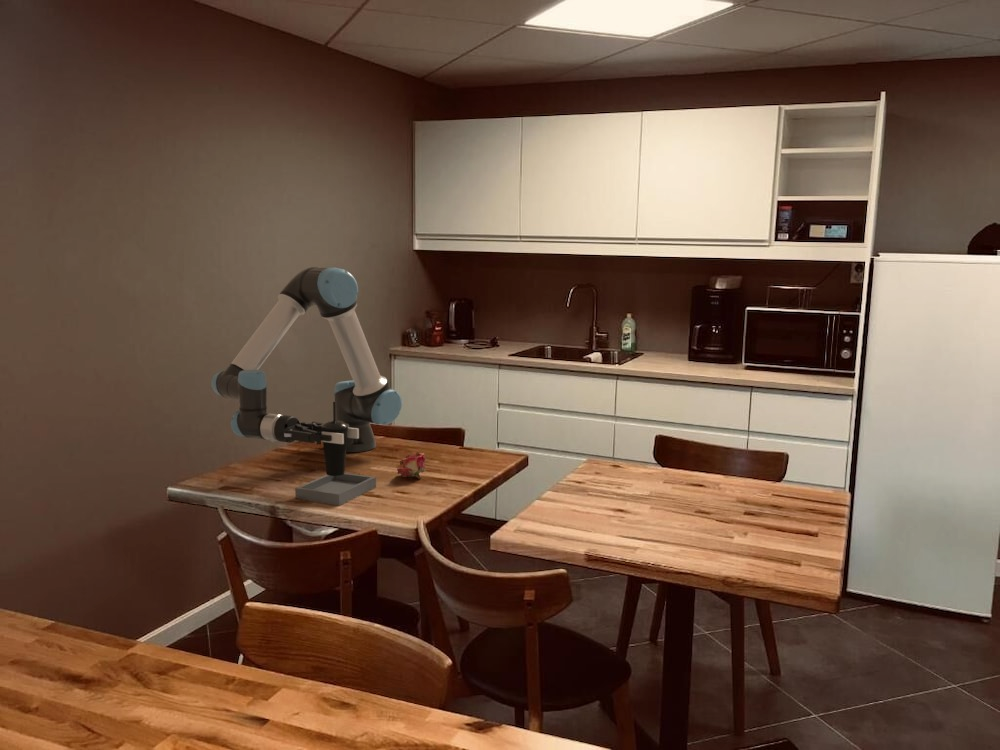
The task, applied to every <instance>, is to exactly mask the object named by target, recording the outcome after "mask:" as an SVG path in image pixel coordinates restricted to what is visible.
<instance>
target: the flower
mask: <svg viewBox="0 0 1000 750" xmlns="http://www.w3.org/2000/svg"><path fill="white" fill-rule="evenodd" d="M424 455H425V452H423V453H419V451H413V452H412V453H411V454H407V455H406V456H405V457H404V458H401V459H400V460H399V466H401V467H397V469H396V470H397V474H398V475H399V474H400V475H401V476H402V478H409V477H413V476H415V477H417V479H418V480H420V479H422V478H421V476H420V473H422V474H423V473H425V472H426V471H427V469H426V468H425V467H426V466H425V463H426V456H424Z"/></svg>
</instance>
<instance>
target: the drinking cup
mask: <svg viewBox="0 0 1000 750" xmlns="http://www.w3.org/2000/svg"><path fill="white" fill-rule="evenodd" d="M332 411H333V412H332V413H333V414H332V417H333V419H332V420H329V421H328V420H327V421H325V422H323V423H324V424H321V425H320V427H321V428H322V432H323V431H324V432H333V433H342V434H344V444H336V443H328V442H322V445H323V446H322V447H323V453H324V463H325V471H326V474H325V475H329V476H339V475H343V474H344V473H345V469H346V459H347V457H346V455H347V452H346V446H347V433H348V427H349V424H347V423H345V422H343V421H339V420H336V402H335V401H333V403H332Z"/></svg>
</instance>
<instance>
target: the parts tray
mask: <svg viewBox="0 0 1000 750" xmlns="http://www.w3.org/2000/svg"><path fill="white" fill-rule="evenodd" d="M376 477H377V476H371V475H363V474H355V473H347V472H344V474H343V475H339V476H329V475H327V474H325V475H323V476H320V477H318V478H316V479H314V480H312V481H311V480H310V481H309V482H307V483H303V484H302V485H299V486H297V487H295V488H294V491H295V499H296V498H298V499H297V500H300V499H303V500H302V501H306V500H309V501H308V502H313V501H316V502H315V503H319V502H320V504H326V503H327V504H328V505H331V506H333V505H334V506H341V505H344V504H345V503H347V502H350V501H351V500H353V499H356V498H357V496H358V497H359V496H362V495H364V494H366V493H368V492H369V490H370V491H372V490H374V489H376V488H377V478H376ZM375 487H376V488H375ZM373 488H374V489H373ZM371 489H372V490H371ZM367 491H368V492H367ZM365 492H366V493H365Z"/></svg>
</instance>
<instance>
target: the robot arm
mask: <svg viewBox="0 0 1000 750" xmlns="http://www.w3.org/2000/svg"><path fill="white" fill-rule="evenodd" d="M358 293H359V286H358V282H357V280H356V278H355V277H354V275H353V274H351V273H350V272H349V271H348V270H346V269H343V268H338V267H332V266H331V267H318V266H317V267H316V266H313V267H307V268H304V269H302V270H301V271H299V272H298V273H297V274H295V276H293V278H292V277H291V280H290V281H288V283H287V284H285V286H284V287H283V288H282V290H281V291H280V292H279V294H278V295H277V299H278V301H277V302H276V303H275V305H274V306H273V307H272V309H271V310H270V312H269V313H268V314H267V315H266V316H265V318H264V319H263V321H262V322H261V323H260V325H259V326H258V327H257V328H256V330H255V331H254V332H253V334H252V335H251V336H250V338H248V340H247V341H246V343H245V344H244V346H243V347H242V348H241V349H240V351H239V352H238V353H237V355H236V356H235V358H234V359H233V360H232V362H231V363H230V364H229V365H228V366H227V368H225V370H222V371H218V372H217V373H215V374H214V375H213V377H212V378H211V383H210V384H211V389H212V390H213V392H214V393H215V395H218V396H220V397H222V398H225V399H232V400H235V401H238V402H239V403H238V407H239V410H238V411H236V412H234V414H233V415H232V420H230V428H231V430H232V432H233V433H234V435H236V436H238V437H243V438H246V439H257V440H266V441H271V443H275V442H281V443H288V444H289V443H290V444H291V443H293V442H295V441H297V442H302V443H309V444H315V442H316V445H319V446H321V445H322V443H323V442H328V443H336V444H344V434H342V433H333V432H324V431H323V432H322V428H321V427H320V425H321V424H324V423H325V422H317V421H311V423H310V422H306V421H305V422H304V421H302V422H300V421H299V419H298V418H297V417H296V416H294V415H288V414H287V415H286V414H276V413H268V407H267V406H268V405H267V402H268V401H267V391H268V390H267V385H268V383H267V379H266V372H265V371H264V370H262V369H260V368H261V367H262V365H263V364H264V363H265V362H266V360H267V359H268V357H269V356H270V355H271V353H272V352H273V351H274V349H276V347H277V345H278V344H279V343H280V342H281V340H282V338H283V337H284V336H285V335H286V333H287V332H288V331H289V329H290V328H291V326H292V325H293V324H294V323H295V322H296V320H297V319H298V317H299V316H303V315H305V313H306V312H307V311H308V310H309V309H310V308H312V307H313V306H316V308H317V309H318V311H319V314H320V317H321V318H322V319H324V320H327V321H328V323H329V325H330V327H331V331H332V332H333V336H334V337H335V340H336V342H337V345H338V347H339V349H340V352H341V355H342V357H343V359H344V361H345V364H346V366H347V369H348V371H349V374H350V376H351V378H352V380H345V381H339V382H336V384H334V390H333V392H334V393H333V396H334V402H336V420H339V421H343V422H345V423H347V424H349V427H348V433H347V446H346V453H360V452H366V451H371V450H374V449H375V448H376V446H377V445H376V444H377V443H376V438H375V435H374V432H373V429H372V426H371V423H372V424H375V425H384V426H385V425H389V424H392V423H393V422H395V421H396V420H397V418H398V417H399V416H400V413H401V411H402V409H403V408H402V407H403V400H402V396H401V395H400V393H399V392H397V390H395V389H392V388H391V386H390V384H389V383H390V382H389V381H388V379H387V377H385V376H384V375H381V373H380V371H379V369H378V366H377V363H376V361H375V359H374V356H373V354H372V351H371V348H370V347H369V344H368V341H367V339H366V336H365V333H364V331H363V328H362V326H361V323H360V320H359V318H358V315H357V313H356V308H357V306H358V302H357V298H358Z"/></svg>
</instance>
